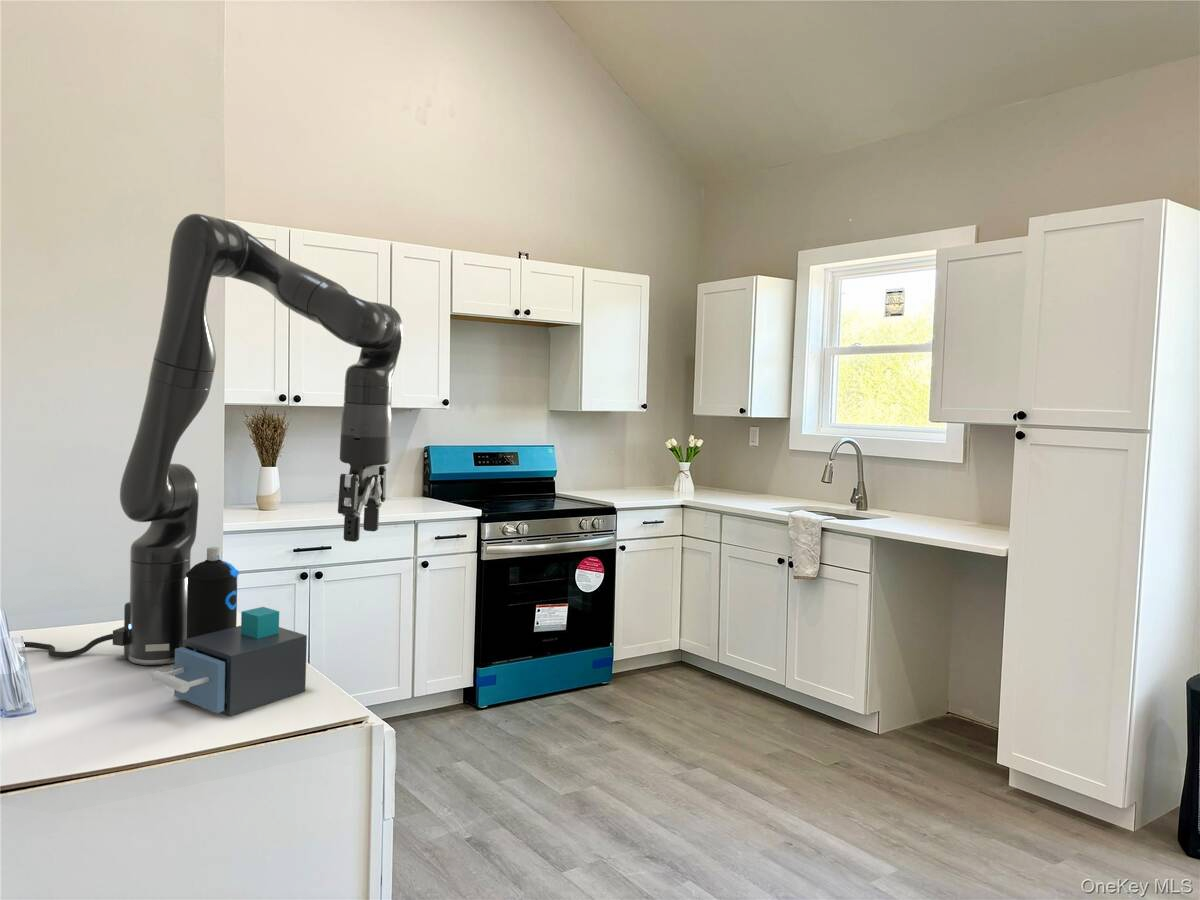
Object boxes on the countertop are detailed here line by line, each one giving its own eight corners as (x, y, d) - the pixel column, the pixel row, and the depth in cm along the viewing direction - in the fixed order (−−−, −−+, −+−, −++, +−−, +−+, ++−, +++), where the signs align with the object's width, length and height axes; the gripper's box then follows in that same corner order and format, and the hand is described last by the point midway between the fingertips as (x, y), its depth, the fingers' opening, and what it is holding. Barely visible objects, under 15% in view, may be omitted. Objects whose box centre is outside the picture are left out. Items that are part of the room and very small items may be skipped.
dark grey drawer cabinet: (229, 716, 130) (231, 656, 129) (182, 697, 136) (182, 639, 135) (305, 691, 142) (306, 635, 141) (258, 674, 148) (259, 620, 147)
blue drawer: (186, 723, 125) (187, 672, 124) (143, 705, 130) (143, 656, 130) (288, 689, 139) (289, 644, 139) (245, 674, 145) (246, 630, 144)
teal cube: (257, 639, 137) (257, 616, 137) (240, 634, 139) (241, 611, 139) (278, 633, 141) (279, 611, 140) (262, 628, 143) (263, 606, 143)
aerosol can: (185, 674, 146) (187, 554, 144) (183, 659, 153) (185, 544, 151) (239, 669, 149) (242, 552, 148) (235, 654, 157) (237, 542, 155)
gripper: (358, 427, 145) (354, 526, 147) (324, 433, 131) (319, 542, 132) (403, 431, 144) (398, 529, 146) (374, 437, 130) (368, 546, 132)
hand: (361, 535), depth 139 cm, fingers open, 8 cm apart
